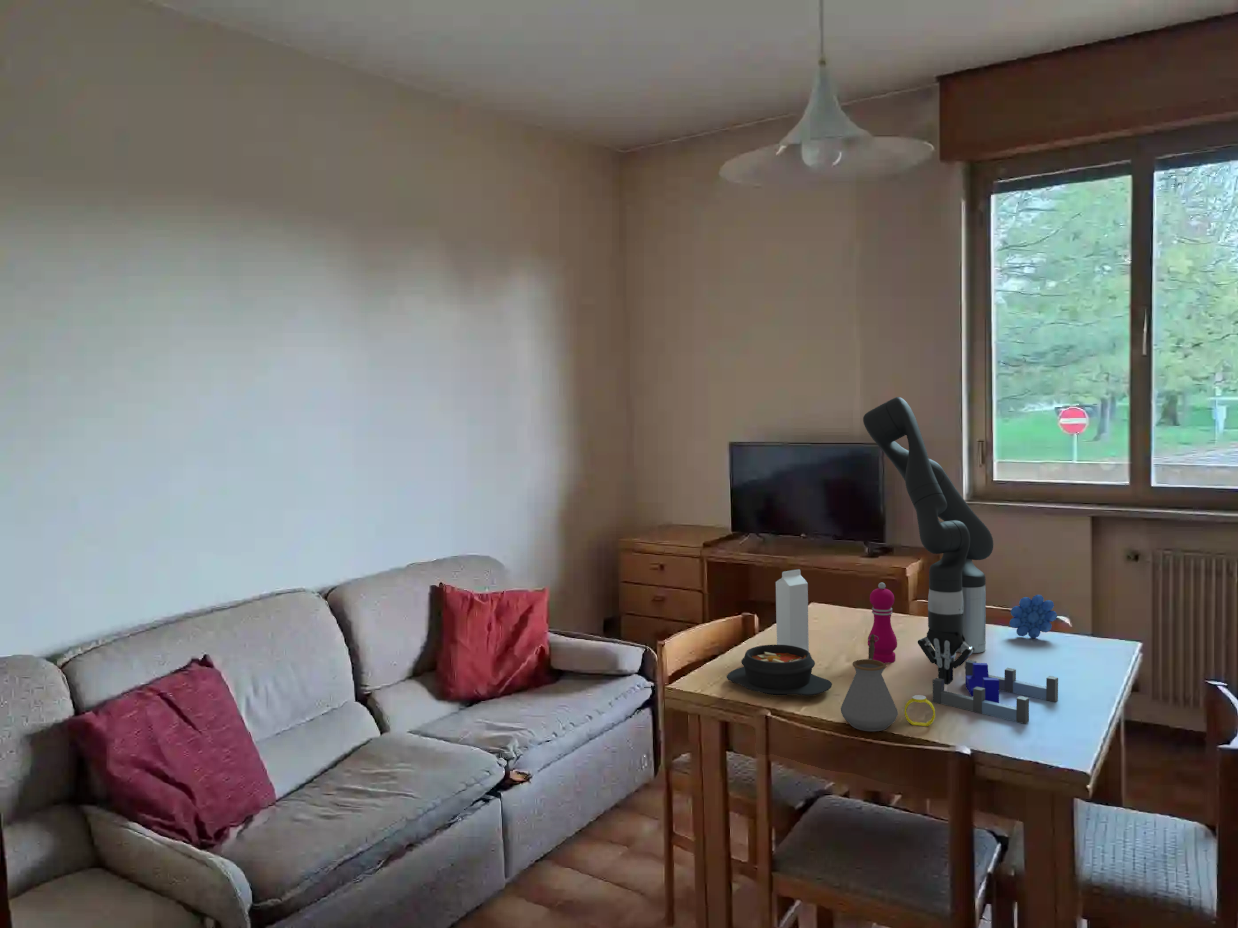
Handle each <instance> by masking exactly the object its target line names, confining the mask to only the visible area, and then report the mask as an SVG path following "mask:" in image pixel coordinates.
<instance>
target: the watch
mask: <svg viewBox="0 0 1238 928" xmlns="http://www.w3.org/2000/svg"><path fill="white" fill-rule="evenodd" d="M914 702H915V703H920V704H921V703H925V704H927V705H929V707H930V708H931V710H932V716H931V718H930V720H928V721H926V722H923V721H922V722H920V721H913V720H912V719H911V718H910V717H909V715H908V713H907V708H908V707H910V704H913V703H914ZM935 709H936V708H935V705H933V703H932V702H931V700H929V699H927V696H925V695H922V694H915V695H912V696H911V698H910V699H909V700H908V701H906V703H905V704H904V710H903V711H904V713H903V714H904V717H905V719H906V721H907V722H908V723H909V724H910V725H912V726H916V727H917V726H919V727H929V726H931V725H932V723H934V720H935V719H936V710H935Z"/></svg>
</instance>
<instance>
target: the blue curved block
mask: <svg viewBox="0 0 1238 928" xmlns="http://www.w3.org/2000/svg"><path fill="white" fill-rule="evenodd" d="M989 675H990V674H989V665H988V663H987V662H976V663H973V675H966V683H965V689H966V690H967V692H968V693H969V695H970V697H973V688H975V687H981V688H985V700H987V701H992V702H996V703H1000V690H999V679H998V678H989Z"/></svg>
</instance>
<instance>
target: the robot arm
mask: <svg viewBox="0 0 1238 928" xmlns="http://www.w3.org/2000/svg"><path fill="white" fill-rule="evenodd" d="M862 421H863V425H864V427H865V430H866V431H867V433H868V435H869V436H870V437H871V438H872V440H873V441H874V442H875V444H876V445H877V447H879V448H880V450H881V451H882V452H883V453H884V454H885V455H886V457H887V458H888V459H889V461H890V462H891V463H892V464H893V465H894V467H895V468H896V470H897V471H898V473H899V474H900V475H901V477H902V479H903V480H904V482H905V488H906V491H907V494H908V496H909V498H910V499H909V500H910V502H911V503H912V505H913V508H914V509H915V513H916V517H917V518H916V519H917V525H918V532H919V538H920V542H921V544H922V545H923V547H924V548H925V550H927V551H928V552H930V554H934V555H938V554H942V556H941V559H940V560H938V561H936V562H935V563H932V564H931V565H930V566H929V571H928V588H929V589H928V597H927V627H928V630H927V632H926V636H925V637H922V638H920V639H917V644H918V646H919V647H920V649H921V650H922V652H923V653H924V655H925V656H926V658H927V659H928V662H929V663H931V664H935V666H937V669H938V670H937V672H938V673H937V675H938V676H937V678H940V679H944V686H945V685H946V686H948V685H949V684H951V683H952V682H953V681H954V669H957V668H958V667H960V666H962V665H963V663H965V662H966V661H967V660H968V659H969V658H970V656H971V655H972V654H977V653H978V654H979V653H980V654H981V653H982V652H985V651H986V643H987V642H986V637H987V636H986V630H987V629H986V627H987V626H986V625H987V623H986V618H987V617H986V603H987V601H986V596H987V595H986V590H987V589H986V585H987V582H986V581H987V580H986V574H985V573H984V572H983V571H982V570H980V569H979V568H978V567H977V566H975V564H974V562H973V561H981V560H986V559H987V558H989V557H990V556H991V554H992V553H993V550H994V540H993V539H994V538H993V536H992V535H993V534H992V533H991V531H990V529H989V528H988V527H987V526H986V524H985V523H984V522H983V521H982V520H981V519H980V518H979V516H978V515H977V514H976V513H975V512H974V511H973V510H972V508H971V507H970V506H969V504H968V503H967V502H966V500H965V499H964V498H963V496H962V495H961V493H960V492H959V491H958V489H957V488H956V486H955V485H954V483H953V482H952V480H951V479H950V477H949V476H948V474H947V473H946V471H945V470H944V468H943V467H942V466H941V465H940V463H938V462H937V461H935V460H933V459H931V458H929V455H928V452H927V448H926V445H925V441H924V439H923V437H922V433H921V429H920V426H919V423H918V421H917V419H916V416H915V414H914V412H913V409H912V408H911V406H910V405H909V403H908V402H907V401H906V400H905V399H904V398H902V397H900V396H896V397H893V398H891V399H890V400H888V401H886V402H883V403H882V404H880V405H878V406H876V407H874V408H873V409H870V410H869V411H868V412H866V413H864V415H863V416H862ZM905 436H906V438H907V443H908V449H906V448H905V447H902V446H901V444H899V443H898V442H896V441H898V440H899V439H901V438H903V437H905ZM939 519H941V520H942V521H941V520H939ZM957 653H960V655H959V656H957ZM956 657H957V658H956Z"/></svg>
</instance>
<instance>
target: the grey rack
mask: <svg viewBox="0 0 1238 928" xmlns="http://www.w3.org/2000/svg"><path fill="white" fill-rule="evenodd" d="M964 663H965V666H964V667H965V668H964V669H965V673H964V674H965V675H964V677H965V684H966V675H973V663H977V661H976V660H971V659H967V660H966V661H965V662H964ZM988 675H989V678H998V679H999V691H1003V692H1007V693H1011V694H1017V695H1019V696H1018V697H1016V706H1012V705H1008V704H1004V703H1000V702H999V703H996V702H992V701H987V700H985V688H981V687H975V688H973V696H969V695H965V694H961V693H957V692H952V691H947V690H945V684H944V679H940V678H938V677H935V678H933V679H932V702H933V703H936V704H940V705H945V706H949V707H953V708H957V709H961V710H965V711H970V712H974V713H977V714H983V715H987V716H990V717H991V716H992V717H995V718H999V719H1004V720H1007V721H1012V722H1016V723H1019V724H1023V725H1027V724H1028V723H1029V722H1030V697H1031V698H1035V699H1039V700H1040V699H1041V700H1044V701H1048V702H1053V703H1056V702H1058V700H1059V677H1058V676H1053V675H1049V676H1047V677H1046V681H1045V682H1046V686H1045V685H1042V684H1036V683H1030V682H1027V681H1021V680H1017V669H1016V668H1011V667H1007V668H1005V669H1004V677H1001V676H998V675H997V676H996V675H993V674H988Z"/></svg>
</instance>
